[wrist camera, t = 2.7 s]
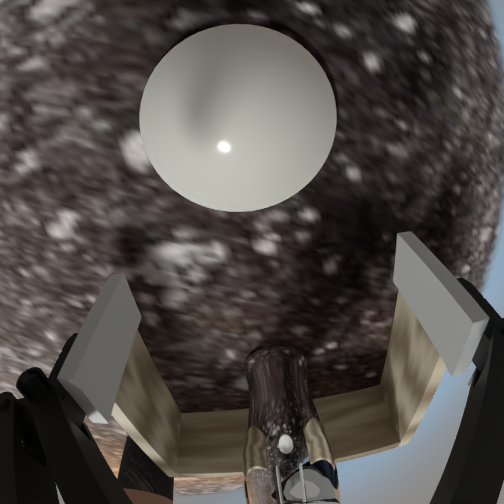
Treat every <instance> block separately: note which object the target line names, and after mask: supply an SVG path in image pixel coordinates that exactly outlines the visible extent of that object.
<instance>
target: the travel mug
mask: <svg viewBox="0 0 504 504" xmlns="http://www.w3.org/2000/svg"><path fill="white" fill-rule="evenodd" d="M117 480H118V482H119V483H120V485H121V486H122V488H123V489H124V491H125V492H126V494H127V495H128V497H129V498H130V500H131V501H132V503H133V504H173V485H174V477H169V476H168V475H167V474H166V473H165V472H164V471H163V470H162V469H161V468H160V467H159V466H158V465H157V464H156V463H155V462H154V461H153V460H152V459H151V458H150V457H149V456H148V455H147V454H146V453H145V452H144V451H143V450H142V449H141V448H140V447H139V446H138V445H137V444H136V442H135V441H134V440H133V439H132V438H131V437H130V436H129V437H128V438H127V440H126V443H125V447H124V451H123V456H122V460H121V465H120V469H119V474H118V479H117Z"/></svg>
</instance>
